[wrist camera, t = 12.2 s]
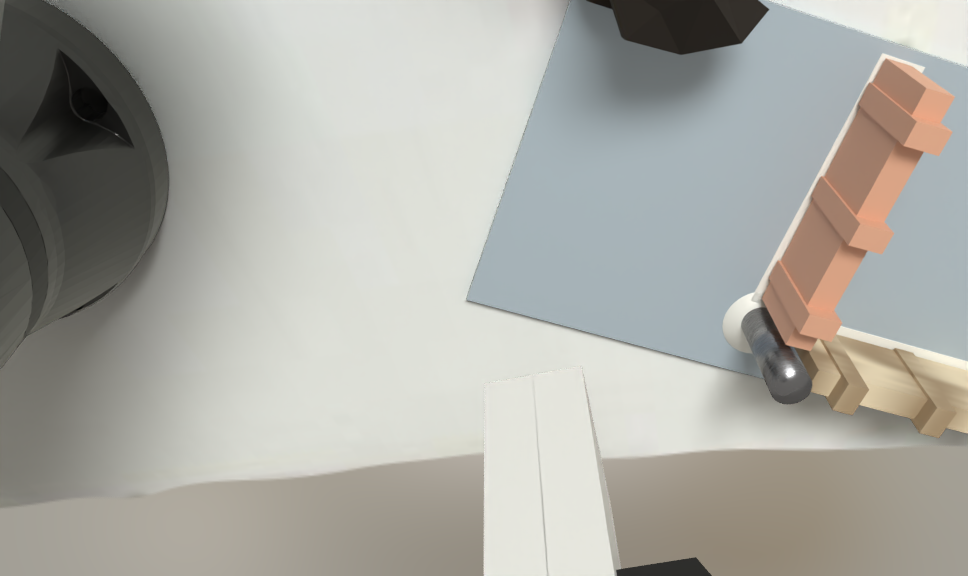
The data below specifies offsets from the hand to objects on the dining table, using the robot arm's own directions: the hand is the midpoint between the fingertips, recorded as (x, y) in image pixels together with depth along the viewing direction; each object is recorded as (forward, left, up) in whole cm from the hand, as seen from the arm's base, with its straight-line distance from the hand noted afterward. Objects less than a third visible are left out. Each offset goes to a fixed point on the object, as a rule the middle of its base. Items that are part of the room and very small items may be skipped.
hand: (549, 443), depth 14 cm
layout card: (+16, -5, -26) cm, 31 cm away
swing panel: (+16, -3, -26) cm, 31 cm away
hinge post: (+16, -10, -26) cm, 32 cm away
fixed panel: (+23, -10, -26) cm, 36 cm away
